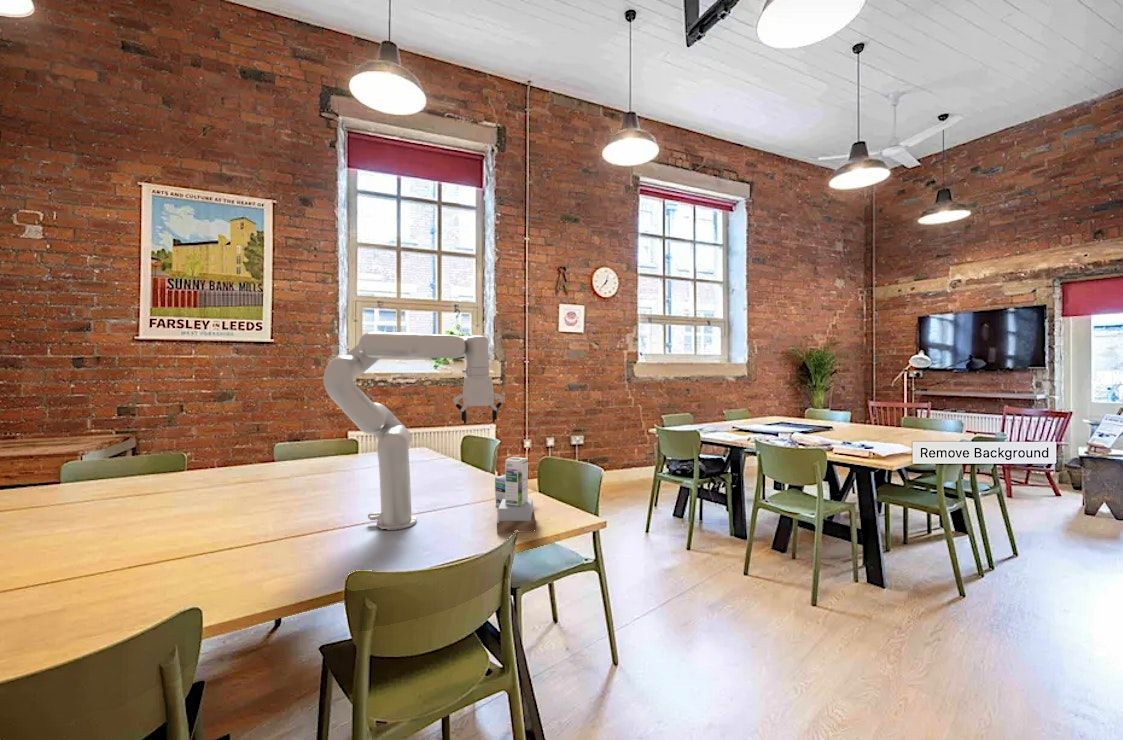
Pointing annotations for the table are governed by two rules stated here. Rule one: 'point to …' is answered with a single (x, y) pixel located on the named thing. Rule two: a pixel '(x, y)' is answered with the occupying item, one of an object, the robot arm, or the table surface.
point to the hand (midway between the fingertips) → (479, 422)
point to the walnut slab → (515, 525)
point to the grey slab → (515, 511)
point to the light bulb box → (499, 489)
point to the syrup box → (516, 481)
